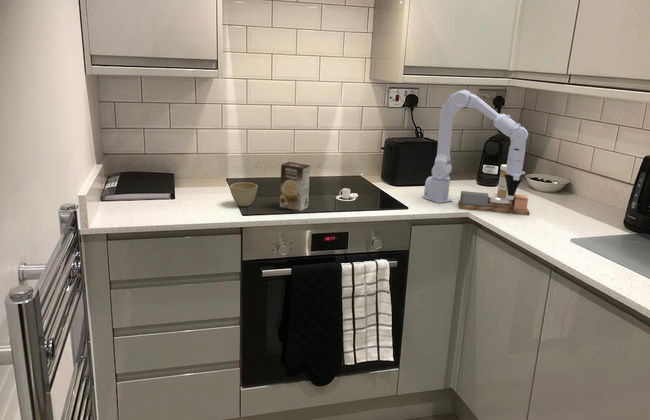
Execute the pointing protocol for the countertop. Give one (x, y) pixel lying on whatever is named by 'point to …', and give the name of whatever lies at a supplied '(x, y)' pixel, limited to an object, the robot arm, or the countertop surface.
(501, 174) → the sprinkles bottle
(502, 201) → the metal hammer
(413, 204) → the countertop surface
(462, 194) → the sleeve
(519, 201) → the socket
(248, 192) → the bowl
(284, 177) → the coffee box
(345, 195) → the teacup and saucer
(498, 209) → the walnut board
